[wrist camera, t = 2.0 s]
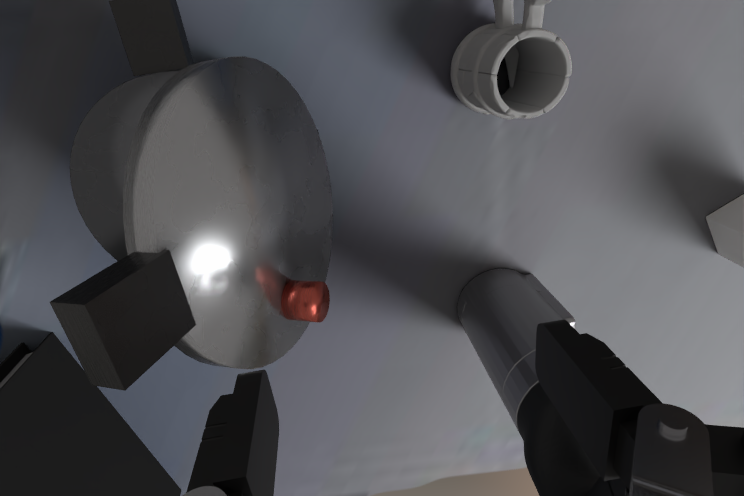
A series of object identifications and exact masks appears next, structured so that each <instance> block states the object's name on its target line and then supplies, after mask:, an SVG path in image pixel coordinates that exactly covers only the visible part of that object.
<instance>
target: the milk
mask: <svg viewBox="0 0 744 496" xmlns="http://www.w3.org/2000/svg"><path fill="white" fill-rule="evenodd" d="M706 220H707V223H708V226H709V229H710V232H711V235H712V237H713V240H714V243H715V246H716V249H717V252H718V254H719V255H721V256H723V257H725V258H727V259H728V260H730V261H732V262H734V263H736V264H738V265H740V266H742V267H744V194H743V195H741V196H739V197H738V198H736V199H735V200H733V201H731V202H730V203H728V204H726V205H725V206H723V207H721V208H720V209H718V210H716V211H715V212H713V213H711V214H710V215H708V216H706Z"/></svg>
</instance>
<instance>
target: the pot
mask: <svg viewBox="0 0 744 496" xmlns="http://www.w3.org/2000/svg"><path fill="white" fill-rule="evenodd" d="M109 3H110V6H111V9H112V12H113V15H114V18H115V21H116V24H117V27H118V30H119V33H120V36H121V39H122V42H123V45H124V48H125V51H126V53H127V56H128V59H129V62H130V65H131V68H132V71H133V74H134V76H138V75H145V74H150V75H145V76H141V77H138V78H135V79H133V80H130V81H127V82H125V83H123V84H121V85H120V86H118V87H116V88H114V89H113V90H111V91H110V92H108V93H107V94H106V95H105V96H103V97H102V98H101V99H100V100H99V101H98V102H97V103H96V104H95V105H94V106H93V107H92V108H91V109H90V111H89V112H88V113H87V115H86V116H85V118H84V120H83V121H82V123H81V124H80V127H79V129H78V131H77V134H76V136H75V139H74V143H73V147H72V151H71V160H70V177H71V185H72V190H73V195H74V199H75V201H76V204H77V207H78V210H79V212H80V214H81V216H82V218H83V220H84V222H85V224H86V226H87V227H88V228H89V230H90V231H91V233H92V234H93V236H94V237H95V238H96V240H97V241H98V242H99V243H100V244H101V245H102V247H103V248H104V249H105V250H106V251H107V252H108V253H110V254H111V255H112V256H113V257H114V258H115V259H116V260H117V261H119V260H121V259H122V258H124V257H126V256H127V255H128V253H127V248H126V244H125V233H124V223H123V187H124V179H125V171H126V163H127V159H128V155H129V151H130V147H131V143H132V139H133V136H134V134H135V131H136V129H137V126H138V124H139V121H140V119H141V116H142V115H143V113H144V111H145V109H146V108H147V106H148V104H149V102H150V101H151V99H152V97H153V96H154V95H155V94H156V92H157V91H158V90H159V89H160V88H161V86H162V85H163V84H164V83H165V82H166V81H167V80H168V79H170V78H171V77H172V76H173V75H174V74H175V73H177V72H178V71H180V70H182V69H184V68H186V67H188V66H189V65H192V64H194V62H193V59H192V55H191V52H190V48H189V45H188V41H187V37H186V34H185V30H184V27H183V23H182V20H181V16H180V12H179V9H178V5H177V2H176V0H112V1H109ZM158 72H159V73H158ZM152 73H154V74H152ZM317 131H318V130H317ZM318 134H319V133H318Z"/></svg>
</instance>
